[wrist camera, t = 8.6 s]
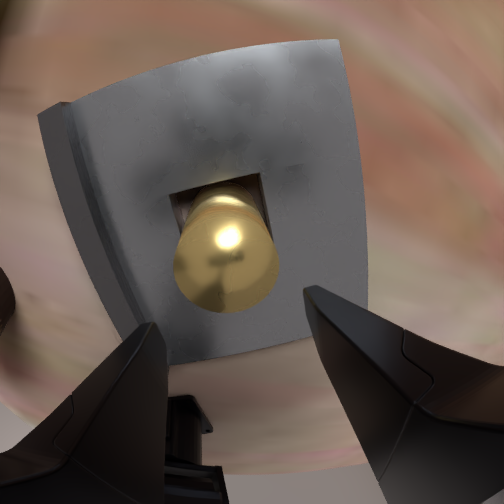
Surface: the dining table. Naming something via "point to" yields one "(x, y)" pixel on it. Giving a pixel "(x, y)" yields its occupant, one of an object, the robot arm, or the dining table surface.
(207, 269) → the gold rounded cylinder
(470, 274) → the dining table surface
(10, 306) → the coffee mug
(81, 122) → the jig
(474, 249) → the dining table surface
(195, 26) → the dining table surface
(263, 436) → the dining table surface
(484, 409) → the robot arm
